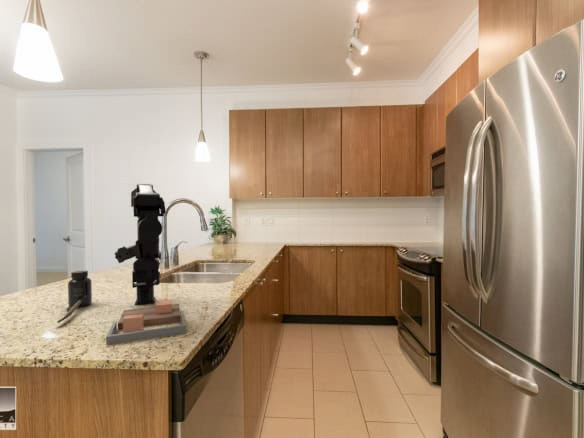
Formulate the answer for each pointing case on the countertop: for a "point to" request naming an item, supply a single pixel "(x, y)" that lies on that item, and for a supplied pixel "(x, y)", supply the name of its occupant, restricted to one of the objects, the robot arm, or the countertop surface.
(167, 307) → the block
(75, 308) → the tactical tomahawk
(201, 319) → the countertop surface
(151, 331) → the tray
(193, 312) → the countertop surface
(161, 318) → the walnut board
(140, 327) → the tile
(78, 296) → the supplement bottle
